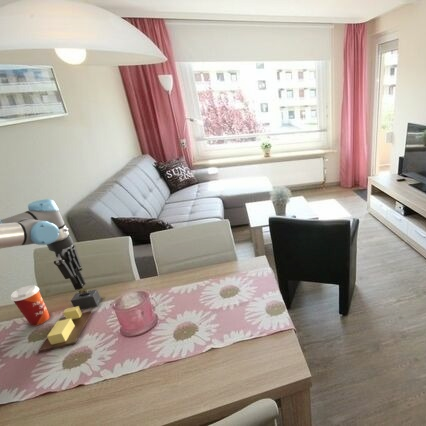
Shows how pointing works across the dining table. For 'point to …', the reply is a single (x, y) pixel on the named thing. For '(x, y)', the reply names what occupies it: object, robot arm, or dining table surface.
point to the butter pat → (72, 313)
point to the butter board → (73, 336)
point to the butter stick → (61, 331)
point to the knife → (82, 291)
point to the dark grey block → (86, 300)
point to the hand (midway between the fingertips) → (80, 286)
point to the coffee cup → (31, 304)
